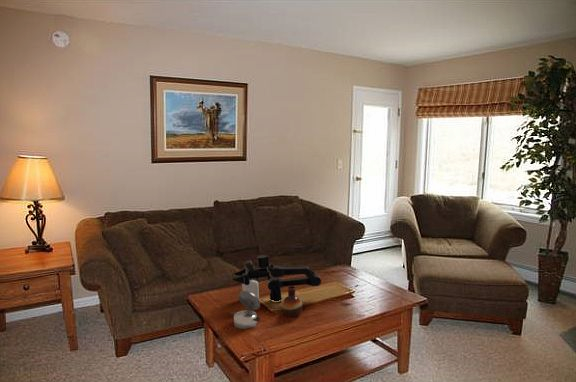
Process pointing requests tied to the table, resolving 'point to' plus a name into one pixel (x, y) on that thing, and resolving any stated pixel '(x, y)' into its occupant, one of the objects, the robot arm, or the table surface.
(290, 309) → the vase
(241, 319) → the cooker pot
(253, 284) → the photo printer
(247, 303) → the cooker lid
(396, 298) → the table surface
